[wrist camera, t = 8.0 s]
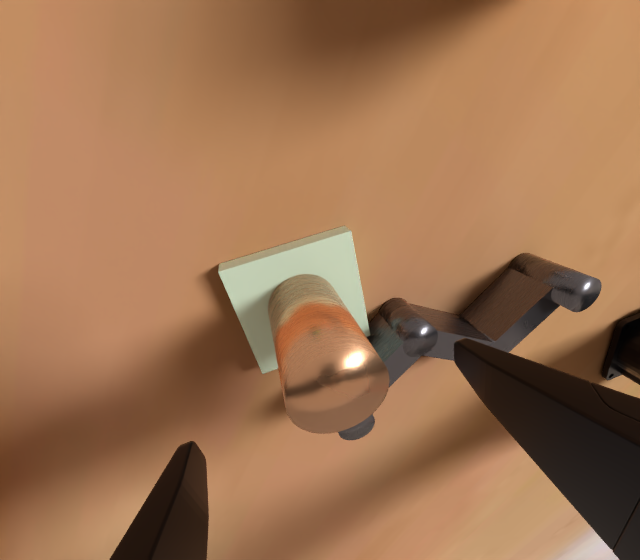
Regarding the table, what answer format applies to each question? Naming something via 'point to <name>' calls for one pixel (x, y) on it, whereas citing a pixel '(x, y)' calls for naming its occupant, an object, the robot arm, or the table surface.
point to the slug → (323, 357)
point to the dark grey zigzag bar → (476, 318)
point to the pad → (282, 263)
